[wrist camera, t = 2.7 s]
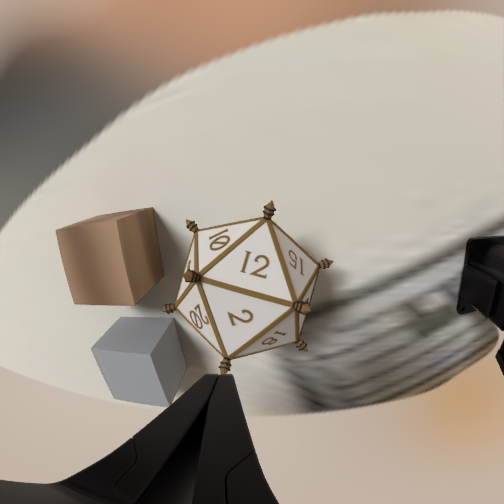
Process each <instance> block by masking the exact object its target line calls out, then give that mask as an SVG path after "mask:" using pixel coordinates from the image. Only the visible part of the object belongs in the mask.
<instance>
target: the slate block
mask: <svg viewBox="0 0 504 504" xmlns="http://www.w3.org/2000/svg"><path fill="white" fill-rule="evenodd" d="M91 350H92V352H93V355H94V357H95V359H96V362H97V364H98V366H99V368H100V371H101V373H102V375H103V377H104V379H105V381H106V383H107V385H108V387H109V389H110V391H111V393H112V395H113V397H114V399H119V400H124V401H129V402H135V403H141V404H148V405H154V406H162V407H169V406H170V405H171V404H172V402H173V399H174V397H175V395H176V392H177V390H178V388H179V385H180V383H181V381H182V378H183V376H184V374H185V371H186V369H187V366H186V362H185V358H184V355H183V351H182V348H181V344H180V340H179V336H178V332H177V328H176V324H175V320H174V318H149V317H120V318H119V319H118V320H117V321H116V322H115V323H114V324H113V325H112V326H111V327H110V328H109V329H108V331H107V332H106V333H105V334H104V335H103V336H102V337H101V338H100V339H99V340H98V341H97V342H96V343H95V344H94V345H93V347H92V348H91Z"/></svg>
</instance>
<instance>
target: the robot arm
mask: <svg viewBox="0 0 504 504" xmlns="http://www.w3.org/2000/svg"><path fill="white" fill-rule="evenodd" d="M472 243H473V246H472ZM462 307H463V308H462ZM457 311H458V312H459V313H460V314H465V313H470V312H474V311H479V312H480V313H481V314H482V315H483V316H484V317H485V318H488V319H489V320H491V321H492V322H493V323H494V324H495V325H496V326H497V327H498V328H500V329H501V330H502V331H504V236H490V237H477V238H470V239H469V240H468V242H467V247H466V256H465V264H464V271H463V278H462V284H461V290H460V295H459V300H458V305H457ZM496 359H497V362H498V364H499V366H500V368H501V371H502V373H503V375H504V341H503V343H502V345H501V347H500V349H499V350H498V352H497V354H496ZM0 504H279V503H278V501H277V499H276V498H275V496H274V494H273V493H272V491H271V489H270V487H269V485H268V483H267V481H266V479H265V477H264V474H263V472H262V469H261V466H260V464H259V461H258V458H257V454H256V452H255V449H254V446H253V442H252V439H251V436H250V432H249V429H248V426H247V422H246V419H245V416H244V412H243V409H242V405H241V402H240V398H239V395H238V391H237V387H236V384H235V380H234V377H233V375H232V374H221V375H218V374H205V375H204V376H203V377H202V378H201V379H200V380H198V381H197V382H196V383H195V384H194V385H193V386H192V387H191V388H189V389H188V390H187V391H186V392H185V393H184V394H183V395H182V396H180V397H179V398H178V399H177V400H176V401H175V402H173V403H172V404H171V405H170V406H169V407H168V408H166V409H165V410H164V411H163V412H162V413H161V414H159V415H158V416H157V417H156V418H155V419H153V420H152V421H151V422H150V423H149V424H147V425H146V426H145V427H144V428H143V429H141V430H140V431H139V432H138V433H136V434H135V435H134V436H133V439H132V438H130V439H129V440H128V441H126V442H125V443H124V444H122V445H121V446H120V447H118V448H117V449H116V450H114V451H113V452H112V453H110V454H109V455H107V456H105V457H104V458H102V459H101V460H99V461H98V462H96V463H94V464H92V465H91V466H89V467H87V468H85V469H83V470H82V471H80V472H78V473H77V474H74V475H72V476H71V477H69V478H67V479H65V480H62V481H59V482H56V483H50V484H37V483H23V482H13V481H6V480H0Z"/></svg>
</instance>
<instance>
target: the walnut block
mask: <svg viewBox="0 0 504 504" xmlns="http://www.w3.org/2000/svg"><path fill="white" fill-rule="evenodd" d="M56 235H57V240H58V245H59V249H60V254H61V258H62V262H63V266H64V270H65V274H66V277H67V281H68V284H69V288H70V291H71V295H72V298H73V301H74V304H82V305H120V306H135V305H136V304H137V303H138V302H139V301H140V300H141V299H142V298H143V297H144V296H145V295H146V294H147V293H148V292H149V291H150V290H151V289H152V288H153V287H154V286H155V285H156V284H157V283H158V282H159V281H160V280H161V279H162V278H163V276H164V271H163V266H162V261H161V255H160V250H159V244H158V238H157V232H156V226H155V220H154V213H153V207H151V208H144V209H137V210H131V211H124V212H118V213H112V214H106V215H100V216H96V217H93V218H90V219H87V220H84V221H81V222H78V223H75V224H72V225H69V226H66V227H63V228H61V229H58V230H56Z"/></svg>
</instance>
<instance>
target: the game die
mask: <svg viewBox="0 0 504 504" xmlns="http://www.w3.org/2000/svg"><path fill="white" fill-rule="evenodd" d="M264 208H265V209H264V211H263V213H264V217H260V218H255V219H249V220H244V221H239V222H234V223H229V224H224V225H219V226H214V227H209V228H204V229H198V227H197V224H195V223H194V222H195V221H190V220H186V223H187V228H189V229H190V231H192V232H194V236H193V239H192V243H191V246H190V250H189V253H188V257H187V260H186V264H185V267H184V271H183V275H182V278H181V282H180V286H179V289H178V293H177V297H176V301H175V304H169V305H168V304H166V305H165V307H164V308H163V309H162V310H161V311H164V312H166V313H168V314H169V313H171V312H172V313H173V311H175V310H177V311H178V312H179V313H180V314H181V315H182V316H183V317H184V318H185V319H186V320H187V321H188V322H189V323H190V324H191V325H192V326H193V327H194V328H195V330H196V331H197V332H198V333H199V334H200V335H201V336H202V337H203V338H204V339H205V340H206V341H207V342H208V343H209V344H210V345H211V346H212V347H213V348H214V349H215V350H216V351H217V352H219V353H220V354H221V355H222V356H223V357H224V359H223V361H222V362H220V363H221V365H220V366H219V368H220V371H221V374H226V373H227V372H228V371H230V370H231V369H230V366H231V364H230V361H231V360H232V359H236V358H240V357H244V356H248V355H252V354H256V353H260V352H263V351H267V350H271V349H274V348H278V347H281V346H285V345H288V344H292V343H295V344H296V347H297V348H299V351H300V350H303V351H307V344H306V343H304V341H303V340H300V339H299V338H300V335H301V332H302V329H303V325H304V322H305V319H306V315H307V313H308V312H310V311H311V310H310V307H309V305H310V302H311V298H312V295H313V291H314V288H315V284H316V280H317V277H318V273H319V269H320V268H323V269H326V267H327V268H329V266H330V265H331V264H332V263H333V262H334V261H331V260H328V259H326V258H325V260H321V262H319V263H317V262H316V261H315V260H314V259H313V258H312V257H311V256H310V255H309V254H308V253H307V252H306V251H304V250H303V249H302V248H301V247H300V246H299V245H298V244H297V243H296V242H295V241H294V240H293V239H292V238H291V237H290V236H289V235H287V234H286V233H285V232H284V231H283V230H282V229H281V228H280V227H279V226H278V225H277V224H276V223H274V222H273V221H272V220H271V217H272V216H273V215H274V211H276V209H275V208H274V204H273V201H271V202H270V203H269V204H267V205H266V206H264Z"/></svg>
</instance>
